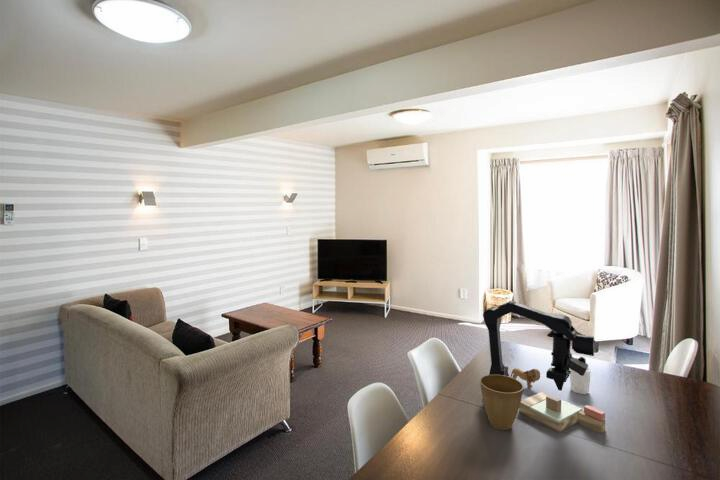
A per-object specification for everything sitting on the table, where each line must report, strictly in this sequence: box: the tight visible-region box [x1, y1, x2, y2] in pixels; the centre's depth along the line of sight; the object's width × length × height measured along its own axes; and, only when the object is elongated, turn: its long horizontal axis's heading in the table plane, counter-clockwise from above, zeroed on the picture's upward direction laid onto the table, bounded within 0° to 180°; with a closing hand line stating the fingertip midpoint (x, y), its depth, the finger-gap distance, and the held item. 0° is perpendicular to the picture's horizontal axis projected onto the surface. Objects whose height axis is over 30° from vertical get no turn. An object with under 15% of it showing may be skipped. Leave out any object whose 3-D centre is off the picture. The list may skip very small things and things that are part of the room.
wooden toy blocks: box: [518, 391, 606, 434], centre depth 133 cm, size 15×24×4 cm, turn 30°
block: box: [583, 404, 606, 421], centre depth 128 cm, size 2×6×2 cm, turn 30°
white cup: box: [569, 367, 591, 395], centre depth 156 cm, size 8×8×10 cm
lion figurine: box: [509, 367, 541, 390], centre depth 162 cm, size 15×5×9 cm, turn 46°
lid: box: [530, 394, 583, 423], centre depth 135 cm, size 15×11×6 cm
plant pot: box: [479, 374, 524, 431], centre depth 132 cm, size 15×15×16 cm
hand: (560, 390), depth 134 cm, fingers closed
